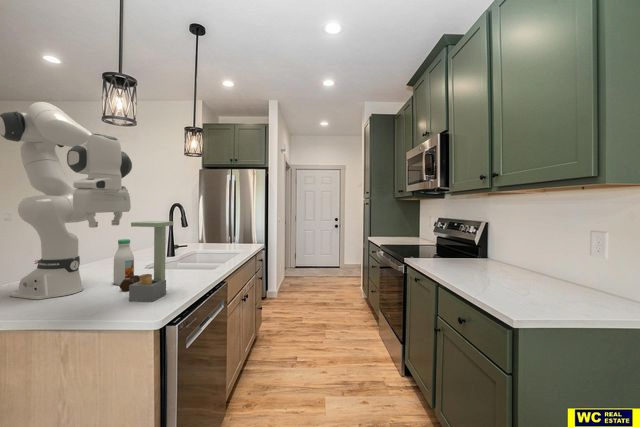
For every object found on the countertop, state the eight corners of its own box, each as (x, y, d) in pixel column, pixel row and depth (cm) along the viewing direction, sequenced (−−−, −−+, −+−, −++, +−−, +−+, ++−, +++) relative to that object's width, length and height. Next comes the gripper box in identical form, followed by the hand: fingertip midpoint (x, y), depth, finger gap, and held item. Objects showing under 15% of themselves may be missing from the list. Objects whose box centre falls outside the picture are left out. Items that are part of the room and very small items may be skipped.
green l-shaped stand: (130, 299, 110) (131, 222, 109) (149, 290, 122) (150, 220, 121) (156, 300, 110) (157, 223, 109) (173, 291, 122) (173, 221, 121)
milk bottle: (117, 286, 127) (117, 241, 126) (110, 283, 131) (110, 239, 131) (136, 282, 133) (137, 239, 133) (129, 280, 138) (129, 238, 137)
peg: (137, 299, 110) (137, 276, 110) (144, 296, 114) (144, 273, 114) (147, 300, 110) (147, 276, 110) (154, 296, 114) (154, 274, 114)
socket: (129, 301, 108) (129, 285, 108) (144, 293, 117) (144, 279, 117) (152, 301, 108) (152, 286, 108) (166, 294, 117) (166, 279, 117)
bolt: (139, 286, 134) (128, 294, 120) (128, 281, 133) (116, 289, 119) (146, 275, 135) (137, 282, 121) (136, 270, 134) (125, 276, 120)
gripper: (118, 186, 105) (118, 224, 106) (68, 181, 85) (68, 228, 85) (135, 186, 105) (135, 224, 105) (89, 181, 85) (89, 229, 85)
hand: (105, 226), depth 95 cm, fingers open, 8 cm apart
